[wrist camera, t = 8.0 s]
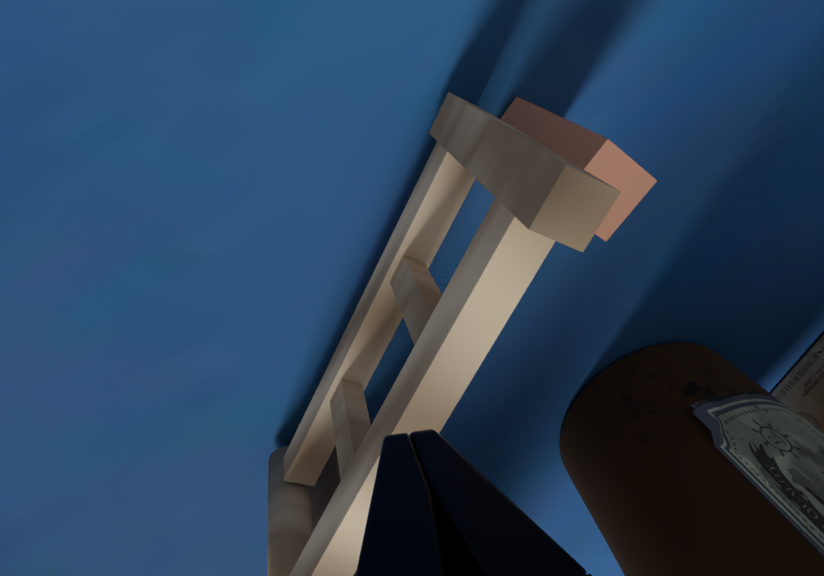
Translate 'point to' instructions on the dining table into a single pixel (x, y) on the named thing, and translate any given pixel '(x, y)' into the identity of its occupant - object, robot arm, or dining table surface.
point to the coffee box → (806, 387)
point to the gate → (426, 322)
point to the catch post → (585, 157)
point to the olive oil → (696, 468)
